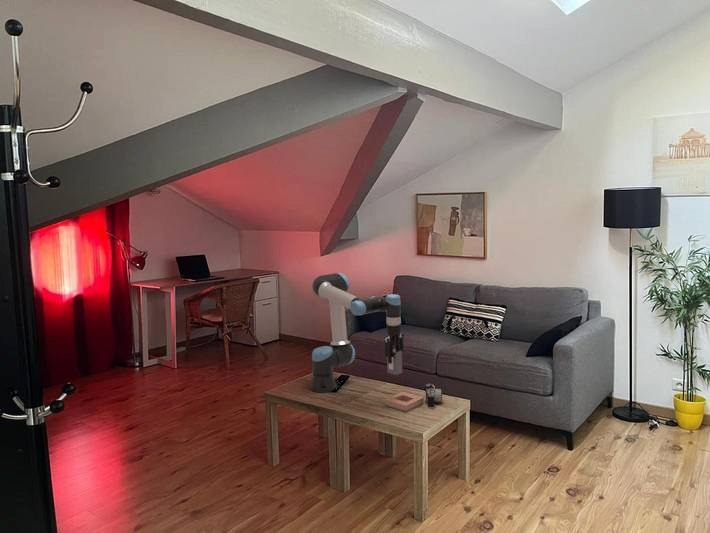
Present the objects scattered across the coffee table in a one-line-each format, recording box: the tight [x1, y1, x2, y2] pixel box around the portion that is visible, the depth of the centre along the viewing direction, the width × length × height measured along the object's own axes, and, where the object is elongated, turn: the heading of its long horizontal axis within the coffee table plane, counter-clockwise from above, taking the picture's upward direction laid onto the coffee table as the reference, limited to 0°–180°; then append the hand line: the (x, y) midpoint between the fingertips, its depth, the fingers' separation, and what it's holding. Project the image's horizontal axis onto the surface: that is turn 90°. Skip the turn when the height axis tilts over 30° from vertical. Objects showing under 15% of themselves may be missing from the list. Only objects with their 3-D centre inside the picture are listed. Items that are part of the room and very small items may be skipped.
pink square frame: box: [384, 391, 424, 413], centre depth 305 cm, size 14×15×4 cm
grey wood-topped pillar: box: [386, 348, 403, 376], centre depth 304 cm, size 6×5×12 cm
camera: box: [424, 383, 443, 409], centre depth 306 cm, size 16×9×10 cm, turn 176°
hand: (394, 367), depth 304 cm, fingers closed on grey wood-topped pillar, 5 cm apart
